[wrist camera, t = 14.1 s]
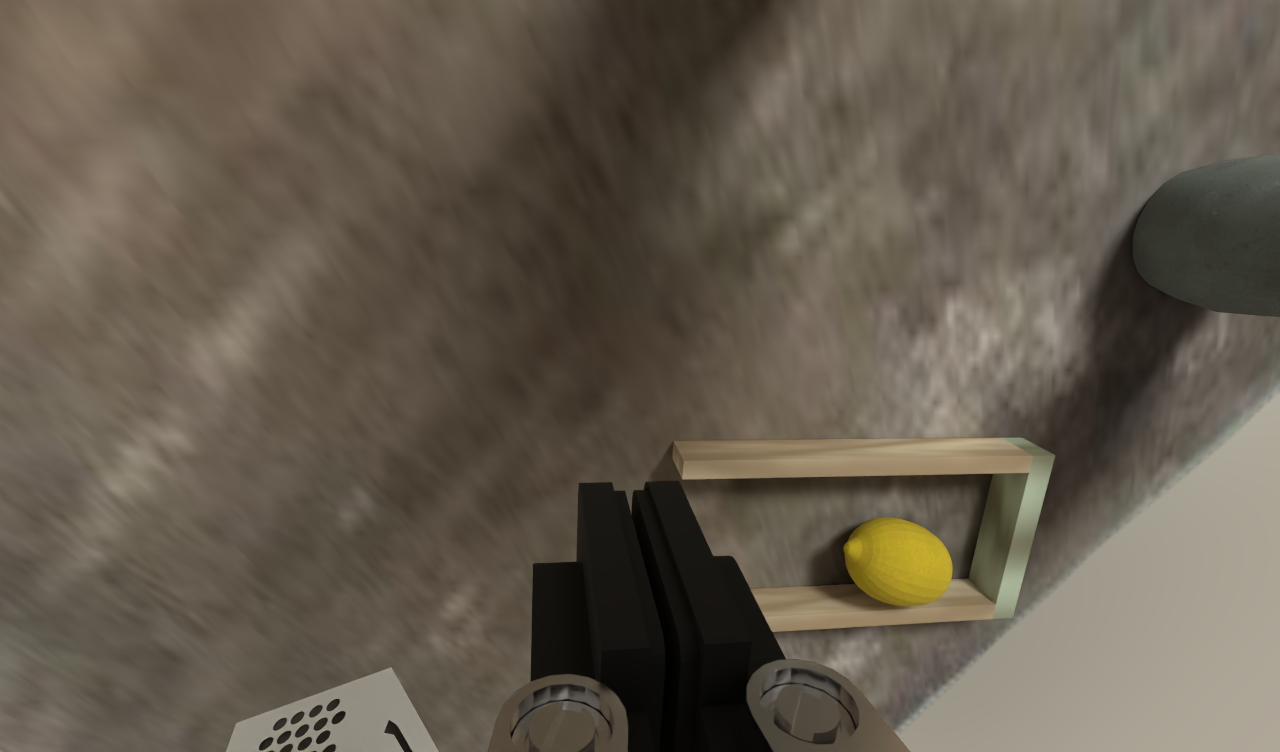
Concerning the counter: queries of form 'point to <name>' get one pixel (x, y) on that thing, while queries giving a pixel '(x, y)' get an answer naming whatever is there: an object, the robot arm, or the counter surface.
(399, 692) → the grater
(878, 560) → the lemon
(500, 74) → the counter surface
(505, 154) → the counter surface
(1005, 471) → the wooden frame
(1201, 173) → the bottle
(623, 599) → the robot arm
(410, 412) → the counter surface
